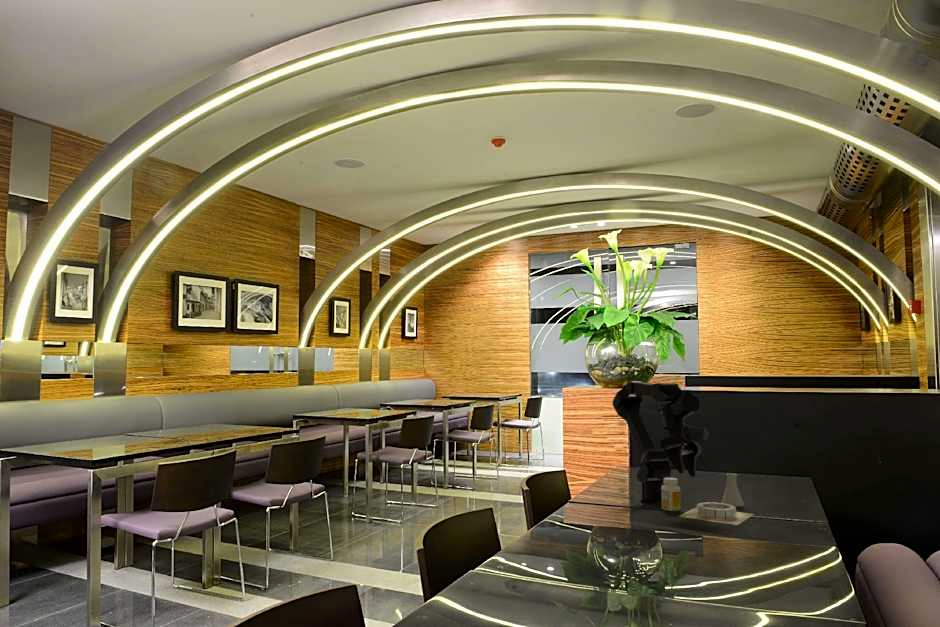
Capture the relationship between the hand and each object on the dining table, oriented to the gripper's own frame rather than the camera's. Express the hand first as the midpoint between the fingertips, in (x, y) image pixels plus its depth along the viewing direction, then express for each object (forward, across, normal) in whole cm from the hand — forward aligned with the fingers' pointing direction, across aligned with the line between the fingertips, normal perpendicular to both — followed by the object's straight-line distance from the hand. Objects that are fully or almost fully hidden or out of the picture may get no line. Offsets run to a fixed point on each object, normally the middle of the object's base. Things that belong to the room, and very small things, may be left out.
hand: (687, 475), depth 192 cm
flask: (+9, +20, -4) cm, 22 cm away
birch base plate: (+13, +2, -4) cm, 14 cm away
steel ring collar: (+12, +2, -4) cm, 13 cm away
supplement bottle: (+9, +2, +8) cm, 13 cm away
